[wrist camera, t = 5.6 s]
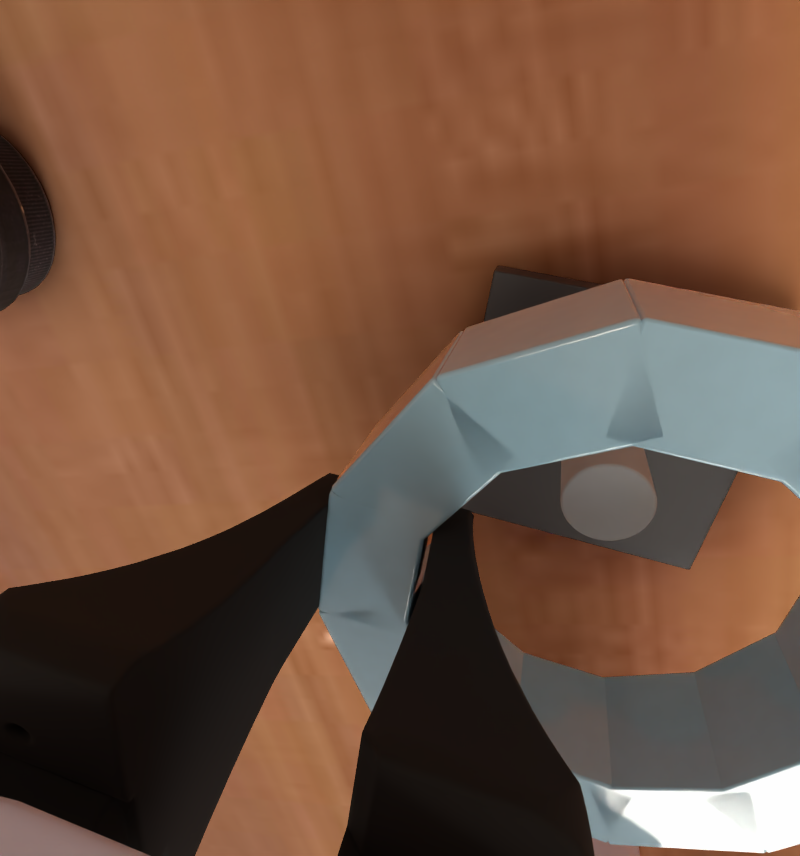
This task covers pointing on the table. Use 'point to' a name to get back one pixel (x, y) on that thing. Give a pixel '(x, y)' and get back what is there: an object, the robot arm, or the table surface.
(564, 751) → the ring
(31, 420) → the table surface
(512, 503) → the stand
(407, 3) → the table surface
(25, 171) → the camera lens
